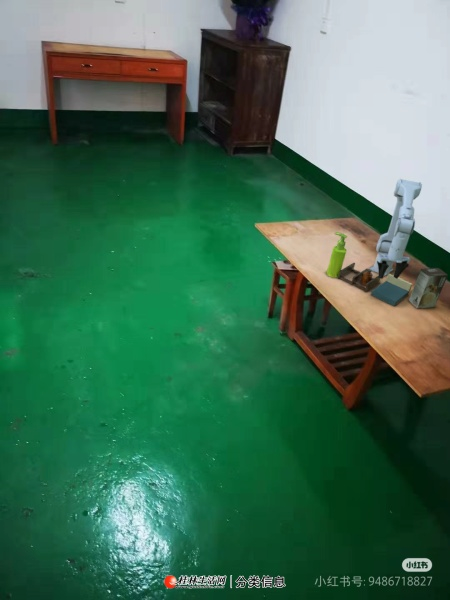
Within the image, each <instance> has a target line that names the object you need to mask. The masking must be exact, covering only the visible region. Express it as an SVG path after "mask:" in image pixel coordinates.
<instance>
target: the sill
mask: <svg viewBox="0 0 450 600" xmlns="http://www.w3.org/2000/svg"><path fill="white" fill-rule="evenodd" d="M386 276H387V277H386V280H385V281H384V282H382V283H381V284H380V285H378V286H377V287H375V288H374V289H372V290H371V293H370V296H371V297H373V298H376V299H377V300H380V301H382V302H384V303H386V304H388V305H390V306H393V307H395V306H397V305H398V304H399V303H400V302H402V301H403V300H404V299H406V297H408V296H409V294H410V291H411V289H412V287H413V283H411V282H410V281H407V280H405V279H403V278H401V277H398V279H396V278H395V277H394V274H393V273H392V274H391V273H388V274H387V275H386Z"/></svg>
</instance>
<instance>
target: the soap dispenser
mask: <svg viewBox="0 0 450 600" xmlns="http://www.w3.org/2000/svg"><path fill="white" fill-rule="evenodd" d="M334 235H335V236H339V237H340V239H339V240H338V241H337V243H336V245H335V246H333V248H332V250H331V255H330V259H329V263H328V267H327V271H326V275H327V276H329V277H331V278H335V279H336V278H337V279H338V275H339V271H340V270H342V269H343V265H344V262H345V259H346V258H345V257H346V254H347V249H346V241H345V239H346V238H348V235H346V234H344V233H342V232H337V231H336V232H334Z"/></svg>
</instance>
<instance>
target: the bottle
mask: <svg viewBox="0 0 450 600" xmlns="http://www.w3.org/2000/svg"><path fill="white" fill-rule="evenodd" d="M366 269H367V271H366V272H364V273H363V276H362V279H361V280H360V281H359V283H360V285H361V286H363V287H366V284H367V283H368V282H370V281H371V279H372V278H373V277H374V274H373V271H372V270H371V269H370V268H366Z"/></svg>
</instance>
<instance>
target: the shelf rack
mask: <svg viewBox="0 0 450 600" xmlns="http://www.w3.org/2000/svg"><path fill="white" fill-rule="evenodd" d="M355 266H356V262H352V263H351V264H349V265H347V266H345V267H344V268H342V269H341V270H340V271H339V275H338V277H337V279H338V280H341V281H343V282H345V283H347V284H349V285H350V286H353V287H355V288H358V289H360V290H361V291H363V292H365V293H366V292H368V291H369V290H371V289H372V288H374V287H375V286H376V285H378V284H380V281H381V279H380V278H379V277H378V275H377V276H375V277H372V279H371V281H370V282H368V283H367V284H366V286H364V285H362V284H359V283H358V282H361V279H362V276H363V273H364V272H366V271H367V269H368V268H365V269H363V270H362V271H358V270H357V269H355ZM351 272H352V273H354V274H356V275H354V276H352V278H351V280H350V279H348V278H346V277H345V276H346V275H348V274H350V273H351Z"/></svg>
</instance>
